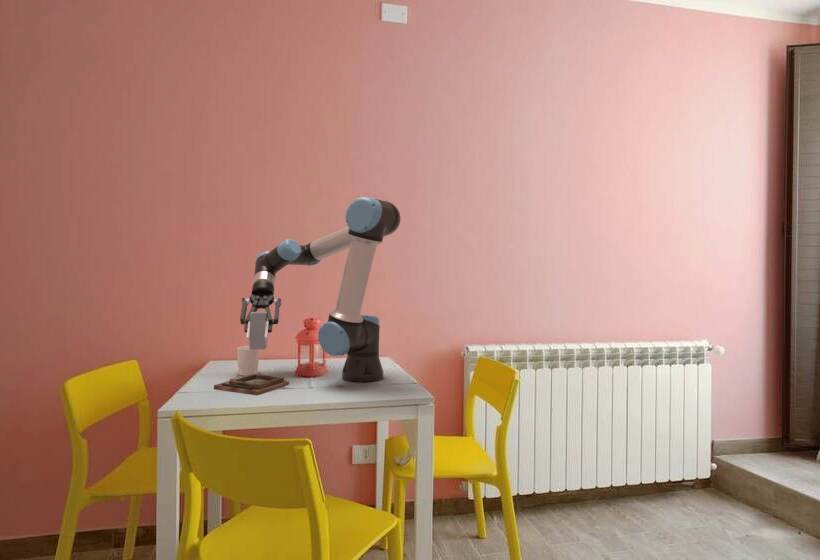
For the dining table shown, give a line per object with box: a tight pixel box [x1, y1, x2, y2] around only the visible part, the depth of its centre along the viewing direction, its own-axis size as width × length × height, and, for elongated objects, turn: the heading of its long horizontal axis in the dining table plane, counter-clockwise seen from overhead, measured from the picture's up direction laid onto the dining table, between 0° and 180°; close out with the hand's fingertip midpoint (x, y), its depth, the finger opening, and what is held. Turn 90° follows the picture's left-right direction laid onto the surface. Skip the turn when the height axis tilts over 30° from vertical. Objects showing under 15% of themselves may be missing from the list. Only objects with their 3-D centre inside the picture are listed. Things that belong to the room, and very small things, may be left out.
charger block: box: [249, 311, 268, 350], centre depth 170 cm, size 5×5×12 cm
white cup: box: [236, 345, 260, 377], centre depth 189 cm, size 8×8×10 cm
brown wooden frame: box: [213, 373, 290, 396], centre depth 169 cm, size 18×16×3 cm
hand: (257, 339), depth 166 cm, fingers closed on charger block, 5 cm apart
